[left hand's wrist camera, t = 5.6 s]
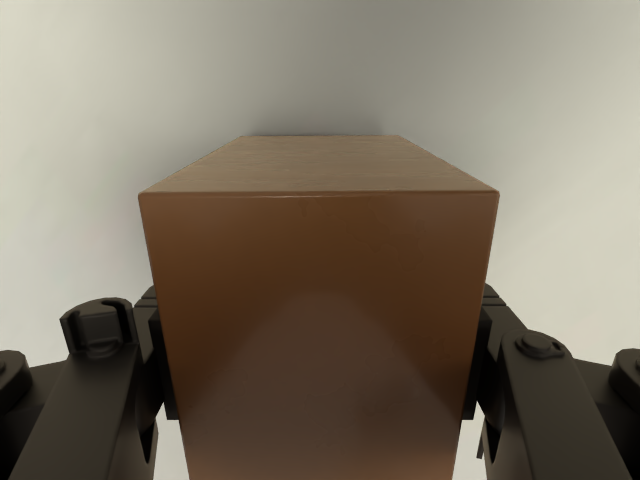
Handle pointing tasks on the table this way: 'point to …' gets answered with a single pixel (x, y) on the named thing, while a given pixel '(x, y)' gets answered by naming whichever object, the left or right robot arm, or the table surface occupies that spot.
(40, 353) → the table surface
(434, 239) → the post
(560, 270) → the table surface
